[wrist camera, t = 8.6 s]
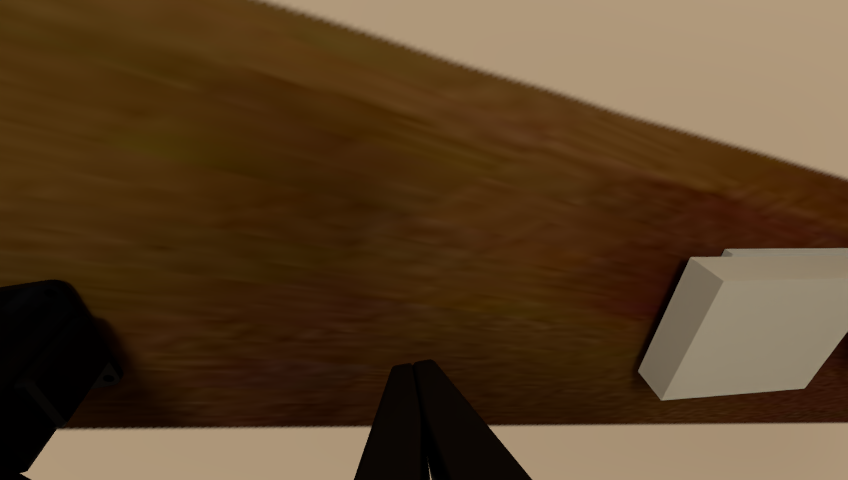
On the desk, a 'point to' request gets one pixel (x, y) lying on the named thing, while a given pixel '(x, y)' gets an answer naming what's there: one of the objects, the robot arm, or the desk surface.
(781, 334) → the tile
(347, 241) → the desk surface
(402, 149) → the desk surface
